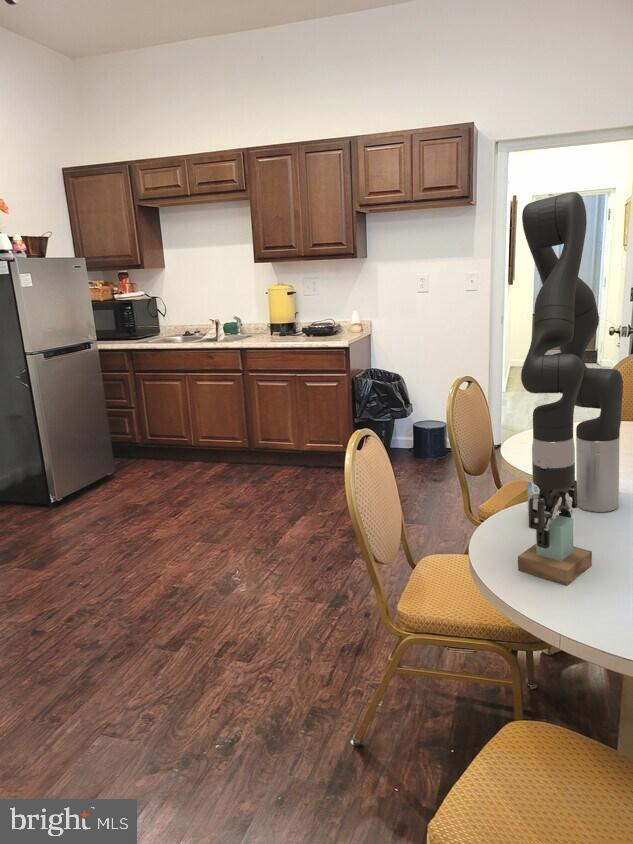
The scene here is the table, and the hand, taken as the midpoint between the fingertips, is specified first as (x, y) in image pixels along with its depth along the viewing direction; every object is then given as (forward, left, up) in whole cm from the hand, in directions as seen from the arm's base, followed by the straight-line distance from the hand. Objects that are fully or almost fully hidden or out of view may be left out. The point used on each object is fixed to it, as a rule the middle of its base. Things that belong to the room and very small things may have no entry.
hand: (554, 539), depth 118 cm
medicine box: (-18, -13, -6) cm, 23 cm away
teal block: (0, 0, -3) cm, 3 cm away
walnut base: (0, 0, -6) cm, 6 cm away
